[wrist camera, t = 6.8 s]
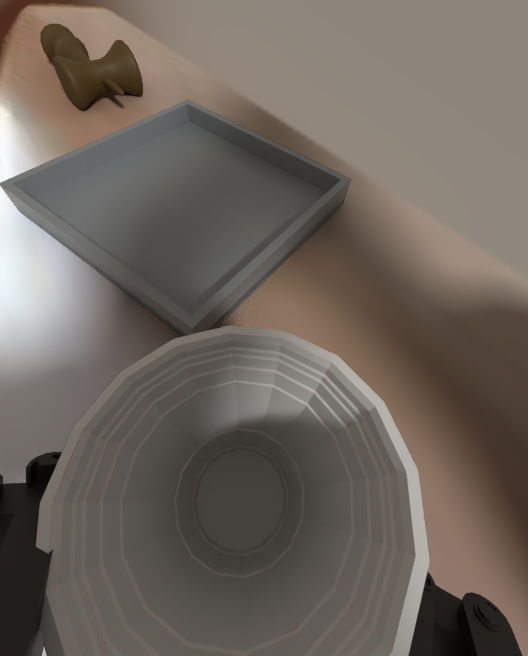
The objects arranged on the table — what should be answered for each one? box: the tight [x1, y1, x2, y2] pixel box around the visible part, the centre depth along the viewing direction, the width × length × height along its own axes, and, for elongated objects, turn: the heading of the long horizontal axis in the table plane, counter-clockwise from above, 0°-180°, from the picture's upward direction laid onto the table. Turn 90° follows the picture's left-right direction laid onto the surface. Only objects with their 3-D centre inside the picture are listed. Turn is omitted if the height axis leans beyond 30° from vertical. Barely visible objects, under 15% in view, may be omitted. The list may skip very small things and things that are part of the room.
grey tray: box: [0, 100, 351, 337], centre depth 31 cm, size 24×24×3 cm
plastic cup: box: [36, 325, 430, 656], centre depth 13 cm, size 11×11×12 cm
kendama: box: [41, 24, 143, 110], centre depth 41 cm, size 6×10×20 cm
